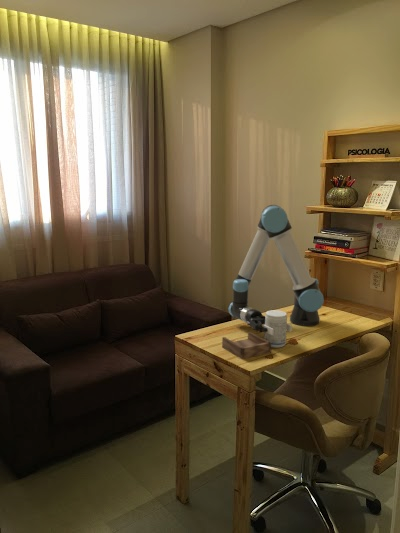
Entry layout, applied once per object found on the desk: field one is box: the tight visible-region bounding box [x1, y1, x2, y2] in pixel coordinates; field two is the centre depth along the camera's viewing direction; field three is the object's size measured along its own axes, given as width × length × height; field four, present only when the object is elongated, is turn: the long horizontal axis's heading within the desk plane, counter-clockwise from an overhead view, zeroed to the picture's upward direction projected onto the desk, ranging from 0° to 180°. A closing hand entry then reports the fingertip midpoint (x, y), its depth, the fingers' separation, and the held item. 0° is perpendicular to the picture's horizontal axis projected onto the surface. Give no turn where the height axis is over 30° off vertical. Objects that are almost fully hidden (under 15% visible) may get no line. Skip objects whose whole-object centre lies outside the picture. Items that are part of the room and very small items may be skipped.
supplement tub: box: [263, 309, 288, 349], centre depth 202 cm, size 10×10×15 cm
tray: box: [221, 331, 272, 360], centre depth 197 cm, size 15×15×4 cm
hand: (282, 330), depth 198 cm, fingers closed on supplement tub, 9 cm apart
